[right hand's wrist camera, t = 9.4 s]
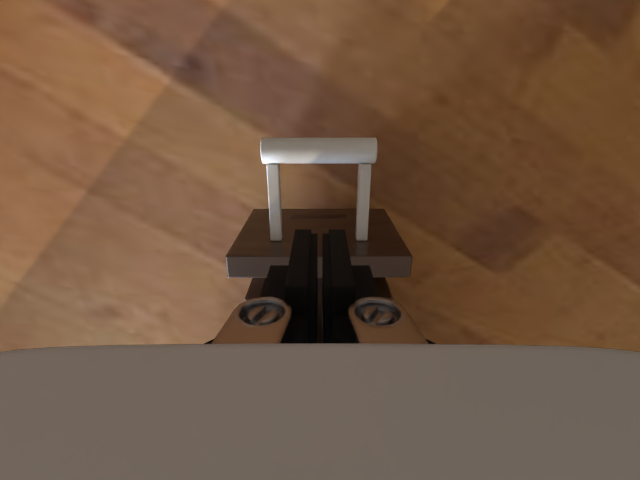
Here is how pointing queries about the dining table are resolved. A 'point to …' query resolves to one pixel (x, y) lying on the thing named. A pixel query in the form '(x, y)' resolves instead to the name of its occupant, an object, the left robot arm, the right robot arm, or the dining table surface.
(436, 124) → the dining table surface
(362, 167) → the drawer
